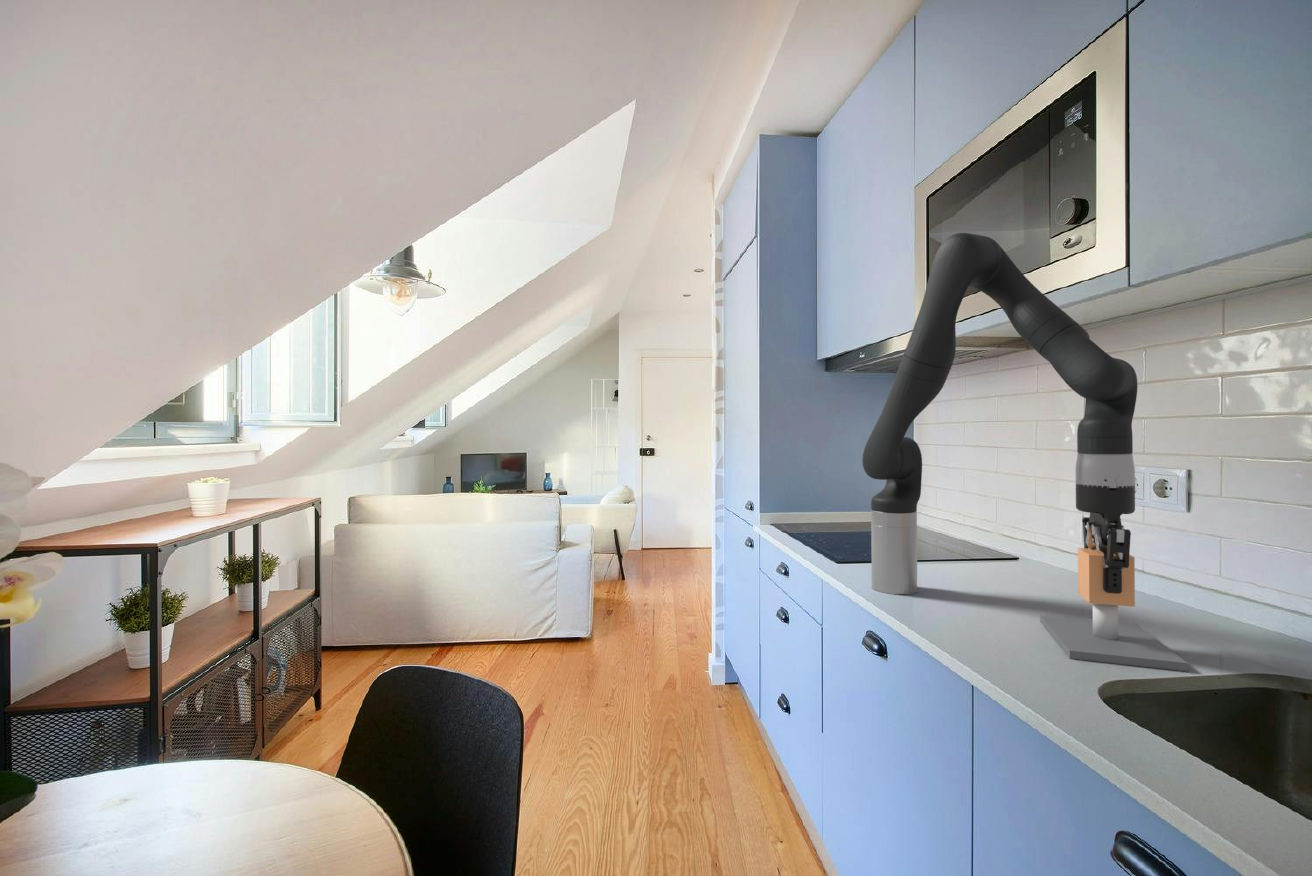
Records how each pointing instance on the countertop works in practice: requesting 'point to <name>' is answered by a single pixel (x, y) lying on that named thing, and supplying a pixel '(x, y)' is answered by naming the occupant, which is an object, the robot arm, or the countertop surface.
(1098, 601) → the peach foam cube
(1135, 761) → the countertop surface
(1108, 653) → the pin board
